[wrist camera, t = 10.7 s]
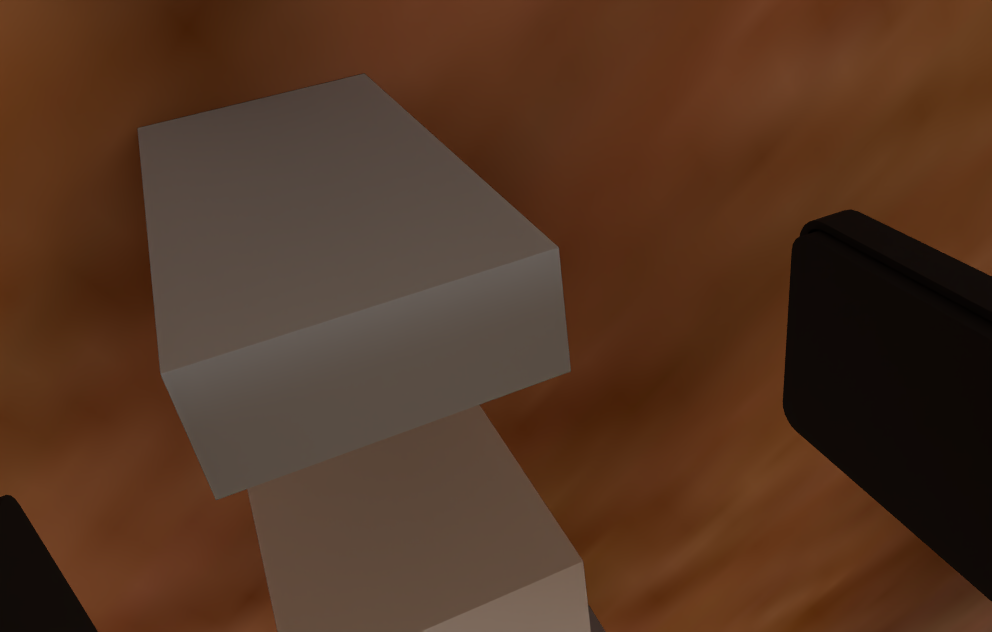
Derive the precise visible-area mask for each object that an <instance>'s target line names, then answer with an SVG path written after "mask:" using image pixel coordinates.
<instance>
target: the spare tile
mask: <svg viewBox="0 0 992 632" xmlns="http://www.w3.org/2000/svg"><path fill="white" fill-rule="evenodd" d="M138 139H139V150H140V161H141V171H142V182H143V193H144V204H145V214H146V225H147V236H148V246H149V257H150V268H151V279H152V289H153V300H154V311H155V321H156V332H157V343H158V354H159V364H160V374H161V377H162V379H163V381H164V383H165V386H166V388H167V390H168V392H169V395H170V397H171V399H172V401H173V404H174V406H175V408H176V411H177V413H178V415H179V417H180V420H181V422H182V424H183V426H184V429H185V431H186V433H187V436H188V438H189V440H190V442H191V445H192V447H193V449H194V451H195V454H196V456H197V458H198V460H199V463H200V465H201V467H202V470H203V472H204V474H205V476H206V479H207V481H208V483H209V485H210V488H211V490H212V492H213V494H214V497H215V499H216V500H218V499H221V498H224V497H226V496H229V495H232V494H235V493H237V492H240V491H243V490H246V489H248V488H251V487H254V486H257V485H259V484H262V483H265V482H268V481H270V480H273V479H276V478H279V477H281V476H284V475H287V474H290V473H292V472H295V471H298V470H301V469H303V468H306V467H309V466H312V465H314V464H317V463H320V462H323V461H325V460H328V459H331V458H334V457H336V456H339V455H342V454H345V453H348V452H350V451H353V450H356V449H359V448H361V447H364V446H367V445H370V444H372V443H375V442H378V441H381V440H383V439H386V438H389V437H392V436H394V435H397V434H400V433H403V432H405V431H408V430H411V429H414V428H416V427H419V426H422V425H425V424H427V423H430V422H433V421H436V420H438V419H441V418H444V417H447V416H449V415H452V414H455V413H458V412H460V411H463V410H466V409H469V408H471V407H474V406H477V405H480V404H482V403H485V402H488V401H491V400H494V399H496V398H499V397H502V396H505V395H507V394H510V393H513V392H516V391H518V390H521V389H524V388H527V387H529V386H532V385H535V384H538V383H540V382H543V381H546V380H549V379H551V378H554V377H557V376H560V375H562V374H565V373H568V372H571V367H570V357H569V347H568V337H567V326H566V316H565V306H564V296H563V286H562V276H561V265H560V255H559V247H558V246H557V245H556V244H554V243H553V242H552V241H551V240H550V239H549V238H548V237H547V236H545V235H544V234H543V233H542V232H541V231H540V230H539V229H538V228H537V227H535V226H534V225H533V224H532V223H531V222H530V221H529V220H528V219H526V218H525V217H524V216H523V215H522V214H521V213H520V212H519V211H518V210H516V209H515V208H514V207H513V206H512V205H511V204H510V203H509V202H507V201H506V200H505V199H504V198H503V197H502V196H501V195H500V194H499V193H497V192H496V191H495V190H494V189H493V188H492V187H491V186H490V185H488V184H487V183H486V182H485V181H484V180H483V179H482V178H481V177H480V176H478V175H477V174H476V173H475V172H474V171H473V170H472V169H471V168H470V167H468V166H467V165H466V164H465V163H464V162H463V161H462V160H461V159H459V158H458V157H457V156H456V155H455V154H454V153H453V152H452V151H451V150H449V149H448V148H447V147H446V146H445V145H444V144H443V143H442V142H440V141H439V140H438V139H437V138H436V137H435V136H434V135H433V134H432V133H430V132H429V131H428V130H427V129H426V128H425V127H424V126H423V125H421V124H420V123H419V122H418V121H417V120H416V119H415V118H414V117H413V116H411V115H410V114H409V113H408V112H407V111H406V110H405V109H404V108H402V107H401V106H400V105H399V104H398V103H397V102H396V101H395V100H394V99H392V98H391V97H390V96H389V95H388V94H387V93H386V92H385V91H383V90H382V89H381V88H380V87H379V86H378V85H377V84H376V83H375V82H373V81H372V80H371V79H370V78H369V77H368V76H367V75H366V74H365V73H364V74H360V75H356V76H352V77H348V78H344V79H339V80H335V81H331V82H327V83H323V84H319V85H315V86H310V87H306V88H302V89H298V90H294V91H290V92H285V93H281V94H277V95H273V96H269V97H265V98H261V99H256V100H252V101H248V102H244V103H240V104H236V105H231V106H227V107H223V108H219V109H215V110H211V111H207V112H202V113H198V114H194V115H190V116H186V117H182V118H177V119H173V120H169V121H165V122H161V123H157V124H153V125H148V126H144V127H140V128H138Z"/></svg>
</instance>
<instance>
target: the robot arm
mask: <svg viewBox="0 0 992 632" xmlns="http://www.w3.org/2000/svg"><path fill="white" fill-rule="evenodd" d="M783 408H784V412H785V415H786V417H787V420H788V421H789V423H790V424H791V426H792V427H793V428H794V429H795V430H796V431H797V432H798V433H799V434H800V435H801V436H803V437H804V438H805V439H806V440H807V441H808V442H809V443H811V444H812V445H813V446H814V447H815V448H816V449H817V450H819V451H820V452H821V453H822V454H823V455H824V456H825V457H827V458H828V459H829V460H830V461H831V462H832V463H833V464H835V465H836V466H837V467H838V468H839V469H840V470H842V471H843V472H844V473H845V474H846V475H847V476H848V477H850V478H851V479H852V480H853V481H854V482H855V483H856V484H858V485H859V486H860V487H861V488H862V489H863V490H864V491H866V492H867V493H868V494H869V495H870V496H871V497H872V498H874V499H875V500H876V501H877V502H878V503H879V504H881V505H882V506H883V507H884V508H885V509H886V510H887V511H889V512H890V513H891V514H892V515H893V516H894V517H895V518H897V519H898V520H899V521H900V522H901V523H902V524H903V525H905V526H906V527H907V528H908V529H909V530H910V531H911V532H913V533H914V534H915V535H916V536H917V537H918V538H920V539H921V540H922V541H923V542H924V543H925V544H926V545H928V546H929V547H930V548H931V549H932V550H933V551H934V552H936V553H937V554H938V555H939V556H940V557H941V558H942V559H944V560H945V561H946V562H947V563H948V564H949V565H950V566H952V567H953V568H954V569H955V570H956V571H957V572H959V573H960V574H961V575H962V576H963V577H964V578H965V579H967V580H968V581H969V582H970V583H971V584H972V585H973V586H975V587H976V588H977V589H978V590H979V591H980V592H981V593H983V594H984V595H985V596H986V597H987V598H988V599H989V600H991V601H992V276H989V275H987V274H985V273H983V272H981V271H979V270H977V269H975V268H973V267H971V266H969V265H967V264H965V263H963V262H961V261H959V260H957V259H955V258H953V257H950V256H948V255H946V254H944V253H942V252H940V251H938V250H936V249H934V248H932V247H930V246H928V245H926V244H924V243H922V242H920V241H918V240H916V239H913V238H911V237H909V236H907V235H905V234H903V233H901V232H899V231H897V230H895V229H893V228H891V227H889V226H887V225H885V224H883V223H881V222H879V221H877V220H874V219H872V218H870V217H868V216H866V215H864V214H862V213H860V212H858V211H854V210H844V211H841V212H838V213H835V214H832V215H829V216H826V217H822V218H819V219H816V220H813V221H810V222H808V223H807V224H806V225H804V227H803V229H802V230H801V233H800V237H798V238H797V239H796V240H795V242H794V243H793V247H792V256H791V273H790V290H789V306H788V323H787V340H786V357H785V374H784V391H783ZM0 632H98V631H97V630H96V628H95V626H94V625H93V623H92V621H91V620H90V618H89V617H88V615H87V613H86V612H85V610H84V608H83V607H82V605H81V604H80V602H79V600H78V599H77V597H76V595H75V594H74V592H73V591H72V589H71V587H70V586H69V584H68V583H67V581H66V579H65V578H64V576H63V574H62V573H61V571H60V570H59V568H58V566H57V565H56V563H55V561H54V560H53V558H52V557H51V555H50V553H49V552H48V550H47V548H46V547H45V545H44V544H43V542H42V540H41V539H40V537H39V535H38V534H37V532H36V531H35V529H34V527H33V526H32V524H31V522H30V521H29V519H28V518H27V516H26V514H25V513H24V511H23V509H22V508H21V506H20V505H19V503H18V502H17V501H16V499H15V498H13V497H12V496H10V495H5V496H2V497H0Z"/></svg>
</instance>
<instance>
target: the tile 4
mask: <svg viewBox="0 0 992 632" xmlns="http://www.w3.org/2000/svg"><path fill="white" fill-rule="evenodd" d="M247 490H248V495H249V499H250V504H251V509H252V513H253V518H254V523H255V527H256V532H257V537H258V542H259V546H260V551H261V556H262V560H263V565H264V570H265V575H266V579H267V584H268V589H269V593H270V598H271V603H272V608H273V612H274V617H275V622H276V626H277V631H278V632H591V629H590V620H589V611H588V602H587V592H586V583H585V574H584V565H583V560H582V559H581V557H580V556H579V554H578V553H577V551H576V550H575V548H574V547H573V545H572V544H571V542H570V541H569V539H568V538H567V536H566V535H565V533H564V532H563V530H562V529H561V527H560V526H559V524H558V523H557V521H556V520H555V518H554V517H553V515H552V514H551V512H550V511H549V509H548V507H547V506H546V504H545V503H544V501H543V500H542V498H541V497H540V495H539V494H538V492H537V491H536V489H535V488H534V486H533V485H532V483H531V482H530V480H529V479H528V477H527V476H526V474H525V473H524V471H523V470H522V468H521V467H520V465H519V464H518V462H517V461H516V459H515V458H514V456H513V455H512V453H511V452H510V450H509V449H508V447H507V446H506V444H505V443H504V441H503V440H502V438H501V437H500V435H499V433H498V432H497V430H496V429H495V427H494V426H493V424H492V423H491V421H490V420H489V418H488V417H487V415H486V414H485V412H484V411H483V409H482V408H481V406H480V405H477V406H474V407H471V408H469V409H466V410H463V411H460V412H458V413H455V414H452V415H449V416H447V417H444V418H441V419H438V420H436V421H433V422H430V423H427V424H425V425H422V426H419V427H416V428H414V429H411V430H408V431H405V432H403V433H400V434H397V435H394V436H392V437H389V438H386V439H383V440H381V441H378V442H375V443H372V444H370V445H367V446H364V447H361V448H359V449H356V450H353V451H350V452H348V453H345V454H342V455H339V456H336V457H334V458H331V459H328V460H325V461H323V462H320V463H317V464H314V465H312V466H309V467H306V468H303V469H301V470H298V471H295V472H292V473H290V474H287V475H284V476H281V477H279V478H276V479H273V480H270V481H268V482H265V483H262V484H259V485H257V486H254V487H251V488H248V489H247Z"/></svg>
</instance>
